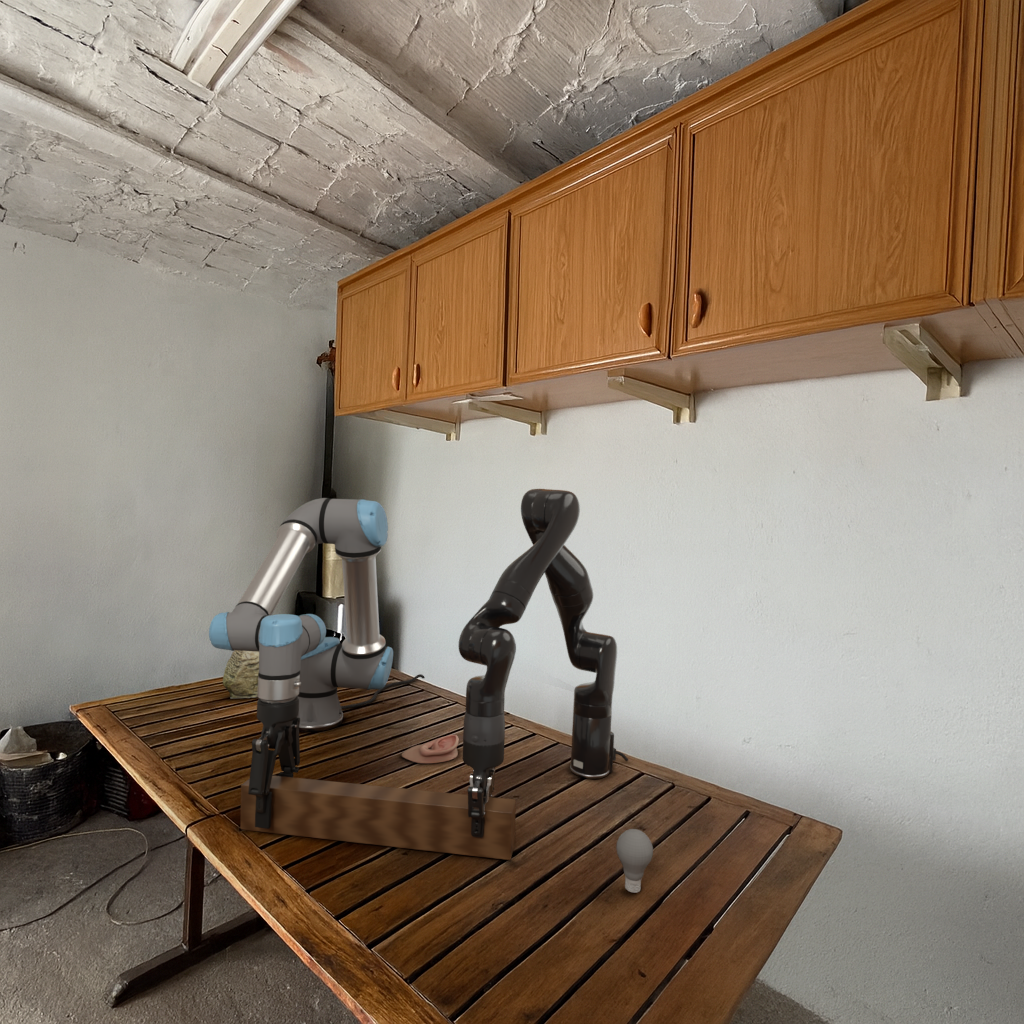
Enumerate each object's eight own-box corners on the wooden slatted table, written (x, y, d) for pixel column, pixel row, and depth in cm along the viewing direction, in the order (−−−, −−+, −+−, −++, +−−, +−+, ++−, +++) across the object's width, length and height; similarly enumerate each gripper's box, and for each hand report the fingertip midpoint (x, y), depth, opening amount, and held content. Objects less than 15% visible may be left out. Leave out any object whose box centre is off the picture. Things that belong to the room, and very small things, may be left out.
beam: (240, 829, 120) (240, 785, 119) (254, 816, 125) (255, 773, 124) (510, 860, 112) (511, 812, 112) (514, 844, 117) (515, 799, 117)
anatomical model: (397, 744, 153) (414, 727, 164) (396, 760, 153) (413, 743, 165) (449, 750, 151) (463, 733, 162) (449, 767, 151) (462, 749, 162)
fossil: (218, 695, 195) (220, 647, 195) (278, 685, 208) (279, 640, 207) (228, 703, 189) (230, 653, 188) (289, 692, 201) (290, 645, 201)
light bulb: (610, 879, 108) (613, 822, 108) (644, 879, 109) (647, 822, 109) (619, 902, 102) (622, 840, 102) (655, 901, 103) (658, 840, 103)
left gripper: (268, 716, 110) (263, 847, 110) (321, 684, 130) (316, 794, 130) (228, 712, 111) (224, 841, 111) (286, 680, 131) (282, 790, 131)
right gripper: (497, 753, 107) (493, 852, 107) (510, 723, 121) (507, 810, 122) (454, 749, 108) (450, 846, 109) (472, 719, 122) (469, 806, 123)
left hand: (274, 816), depth 121 cm, fingers open, 7 cm apart
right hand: (480, 827), depth 115 cm, fingers closed on beam, 5 cm apart
